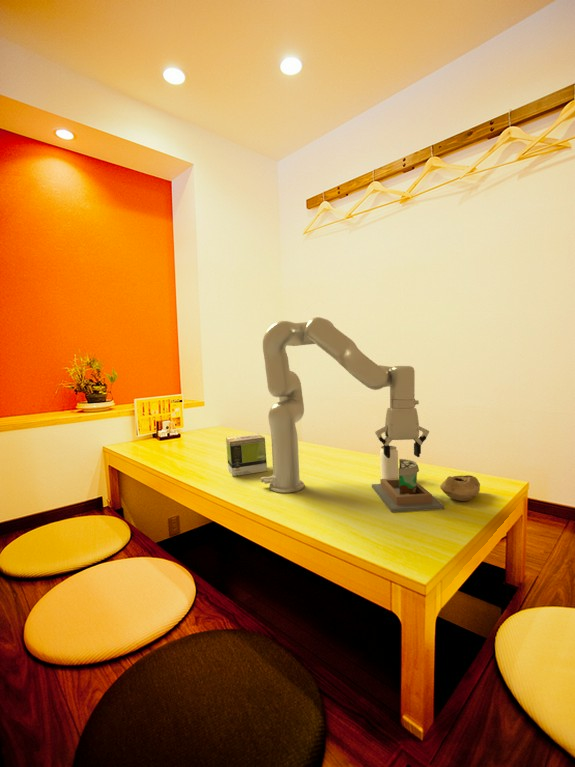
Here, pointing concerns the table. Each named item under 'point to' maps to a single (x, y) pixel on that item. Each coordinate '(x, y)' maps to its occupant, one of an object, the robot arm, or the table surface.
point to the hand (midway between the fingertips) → (402, 456)
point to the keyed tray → (405, 497)
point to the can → (389, 463)
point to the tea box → (246, 454)
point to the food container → (408, 476)
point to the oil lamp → (461, 487)
